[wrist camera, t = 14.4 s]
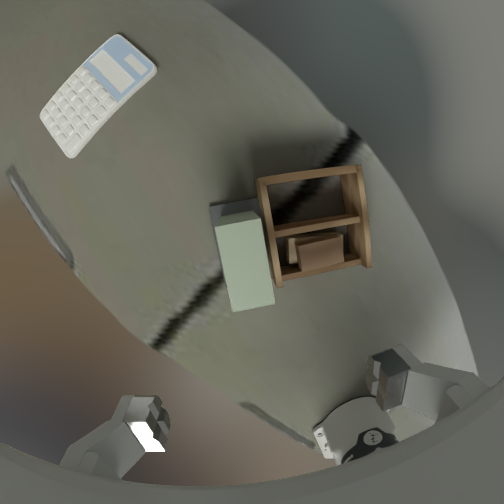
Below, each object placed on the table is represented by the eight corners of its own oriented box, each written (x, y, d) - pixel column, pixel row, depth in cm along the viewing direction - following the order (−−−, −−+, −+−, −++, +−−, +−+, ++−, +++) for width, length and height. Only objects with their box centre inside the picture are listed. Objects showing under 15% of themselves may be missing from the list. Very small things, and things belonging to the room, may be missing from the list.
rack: (354, 257, 41) (372, 267, 35) (270, 274, 41) (277, 288, 35) (343, 167, 38) (360, 164, 32) (254, 180, 37) (258, 177, 32)
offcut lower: (335, 254, 41) (343, 258, 38) (285, 258, 41) (289, 263, 38) (335, 231, 40) (342, 234, 37) (284, 235, 40) (288, 238, 37)
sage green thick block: (252, 210, 38) (260, 218, 26) (263, 271, 40) (275, 303, 28) (220, 216, 38) (214, 227, 26) (232, 277, 40) (232, 311, 28)
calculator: (42, 116, 32) (36, 115, 31) (120, 35, 31) (116, 30, 29) (74, 161, 35) (67, 160, 33) (161, 71, 33) (158, 66, 31)
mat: (272, 277, 41) (272, 278, 40) (226, 286, 40) (225, 287, 40) (258, 197, 38) (258, 197, 38) (209, 206, 38) (209, 206, 37)
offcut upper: (337, 257, 38) (344, 261, 35) (298, 266, 38) (302, 271, 35) (334, 233, 37) (341, 236, 35) (294, 242, 37) (298, 246, 35)
